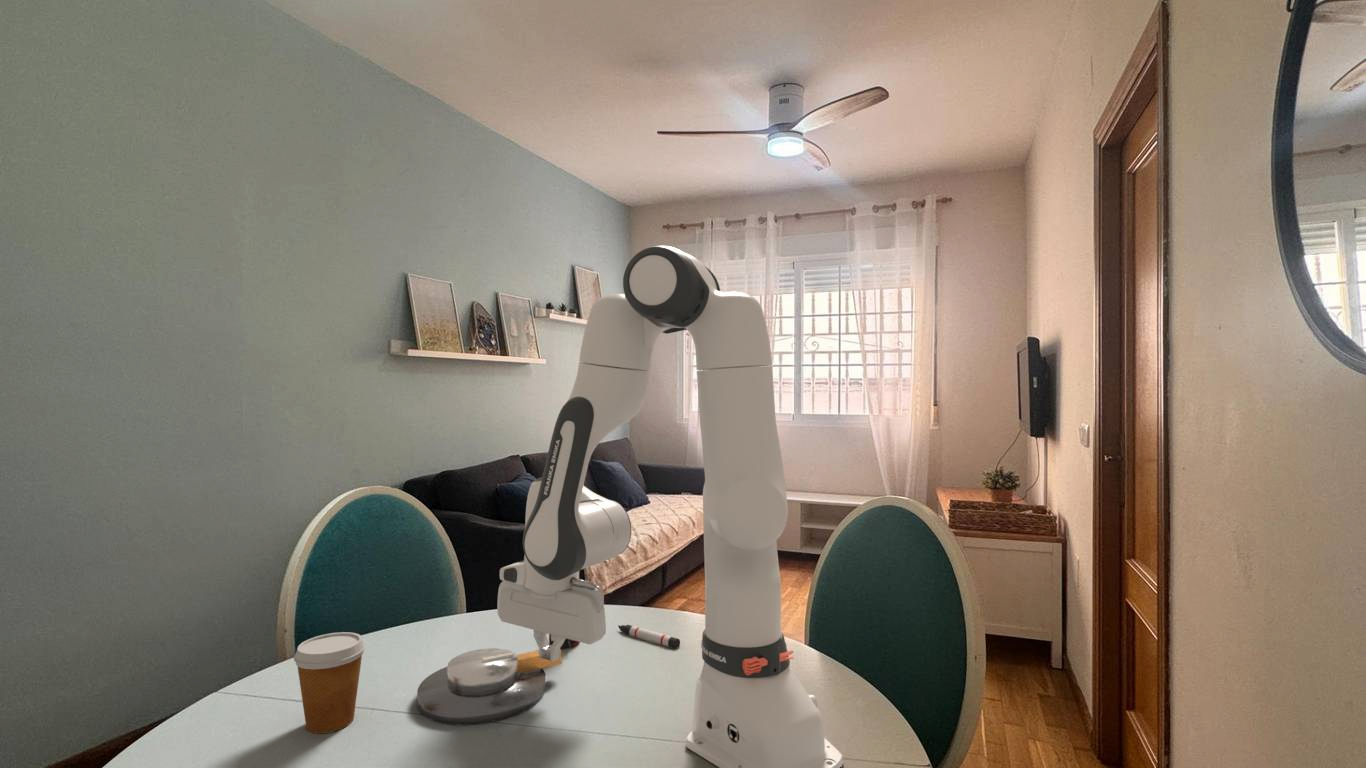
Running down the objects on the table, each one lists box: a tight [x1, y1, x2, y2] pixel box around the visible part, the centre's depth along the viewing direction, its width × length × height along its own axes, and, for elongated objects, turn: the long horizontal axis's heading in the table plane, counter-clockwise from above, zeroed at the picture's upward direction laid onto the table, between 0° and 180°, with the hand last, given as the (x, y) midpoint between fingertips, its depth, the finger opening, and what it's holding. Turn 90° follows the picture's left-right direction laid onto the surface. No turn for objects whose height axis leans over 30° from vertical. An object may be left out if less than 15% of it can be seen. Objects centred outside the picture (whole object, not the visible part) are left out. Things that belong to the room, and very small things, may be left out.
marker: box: [617, 624, 681, 649], centre depth 132 cm, size 15×2×2 cm, turn 53°
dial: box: [446, 647, 563, 696], centre depth 111 cm, size 18×11×3 cm, turn 120°
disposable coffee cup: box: [293, 631, 367, 734], centre depth 99 cm, size 10×10×12 cm
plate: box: [416, 666, 546, 726], centre depth 109 cm, size 20×20×2 cm
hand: (549, 658), depth 108 cm, fingers closed
